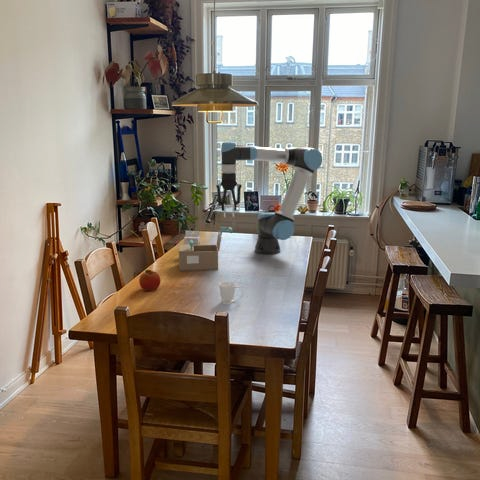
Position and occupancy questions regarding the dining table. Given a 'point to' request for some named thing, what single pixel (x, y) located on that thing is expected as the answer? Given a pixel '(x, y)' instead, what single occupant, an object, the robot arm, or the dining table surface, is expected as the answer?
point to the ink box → (192, 237)
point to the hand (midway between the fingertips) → (229, 216)
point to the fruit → (149, 280)
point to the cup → (228, 292)
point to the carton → (199, 258)
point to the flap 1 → (187, 247)
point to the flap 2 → (221, 234)
